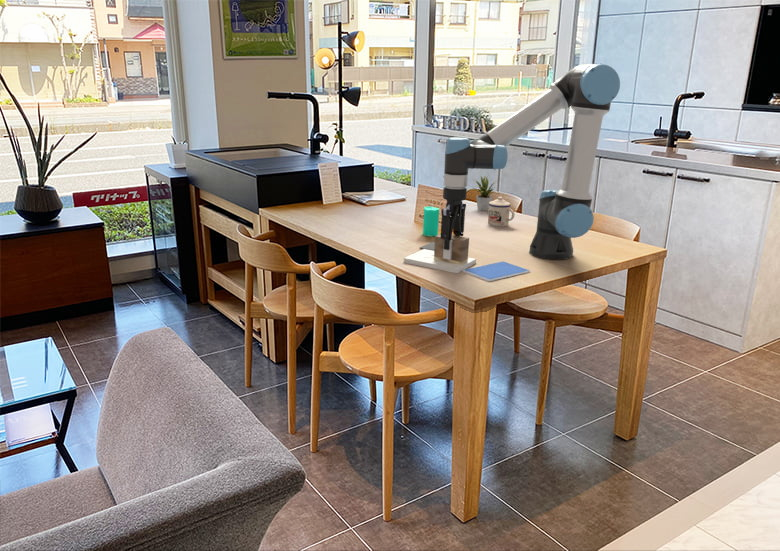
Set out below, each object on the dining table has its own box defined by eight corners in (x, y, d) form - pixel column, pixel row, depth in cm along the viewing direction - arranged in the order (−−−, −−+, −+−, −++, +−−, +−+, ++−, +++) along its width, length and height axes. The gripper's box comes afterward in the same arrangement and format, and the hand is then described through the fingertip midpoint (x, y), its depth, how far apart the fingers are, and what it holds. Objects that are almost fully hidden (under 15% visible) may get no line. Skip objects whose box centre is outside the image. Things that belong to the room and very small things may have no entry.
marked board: (475, 263, 213) (476, 258, 213) (457, 273, 202) (457, 268, 201) (423, 253, 223) (424, 248, 223) (403, 262, 212) (403, 257, 211)
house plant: (461, 206, 302) (463, 172, 296) (487, 205, 306) (490, 171, 301) (473, 212, 289) (476, 177, 284) (501, 211, 293) (504, 176, 288)
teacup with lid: (482, 223, 268) (485, 196, 265) (495, 220, 275) (497, 194, 271) (506, 229, 261) (509, 201, 257) (518, 225, 267) (521, 198, 263)
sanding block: (467, 261, 210) (469, 237, 207) (461, 264, 206) (462, 241, 203) (440, 256, 215) (442, 233, 212) (433, 259, 211) (435, 236, 208)
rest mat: (466, 249, 230) (466, 247, 229) (454, 255, 221) (454, 254, 221) (432, 242, 237) (432, 241, 236) (419, 248, 228) (419, 247, 228)
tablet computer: (503, 264, 215) (503, 260, 215) (531, 273, 206) (531, 269, 205) (461, 273, 204) (461, 269, 204) (489, 284, 195) (489, 280, 194)
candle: (420, 232, 251) (421, 203, 247) (434, 232, 253) (435, 202, 249) (426, 236, 245) (427, 206, 242) (440, 235, 247) (442, 205, 244)
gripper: (457, 182, 212) (453, 249, 219) (431, 189, 197) (428, 261, 204) (477, 184, 208) (472, 252, 215) (453, 192, 193) (448, 265, 201)
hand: (451, 256), depth 210 cm, fingers closed on sanding block, 5 cm apart
